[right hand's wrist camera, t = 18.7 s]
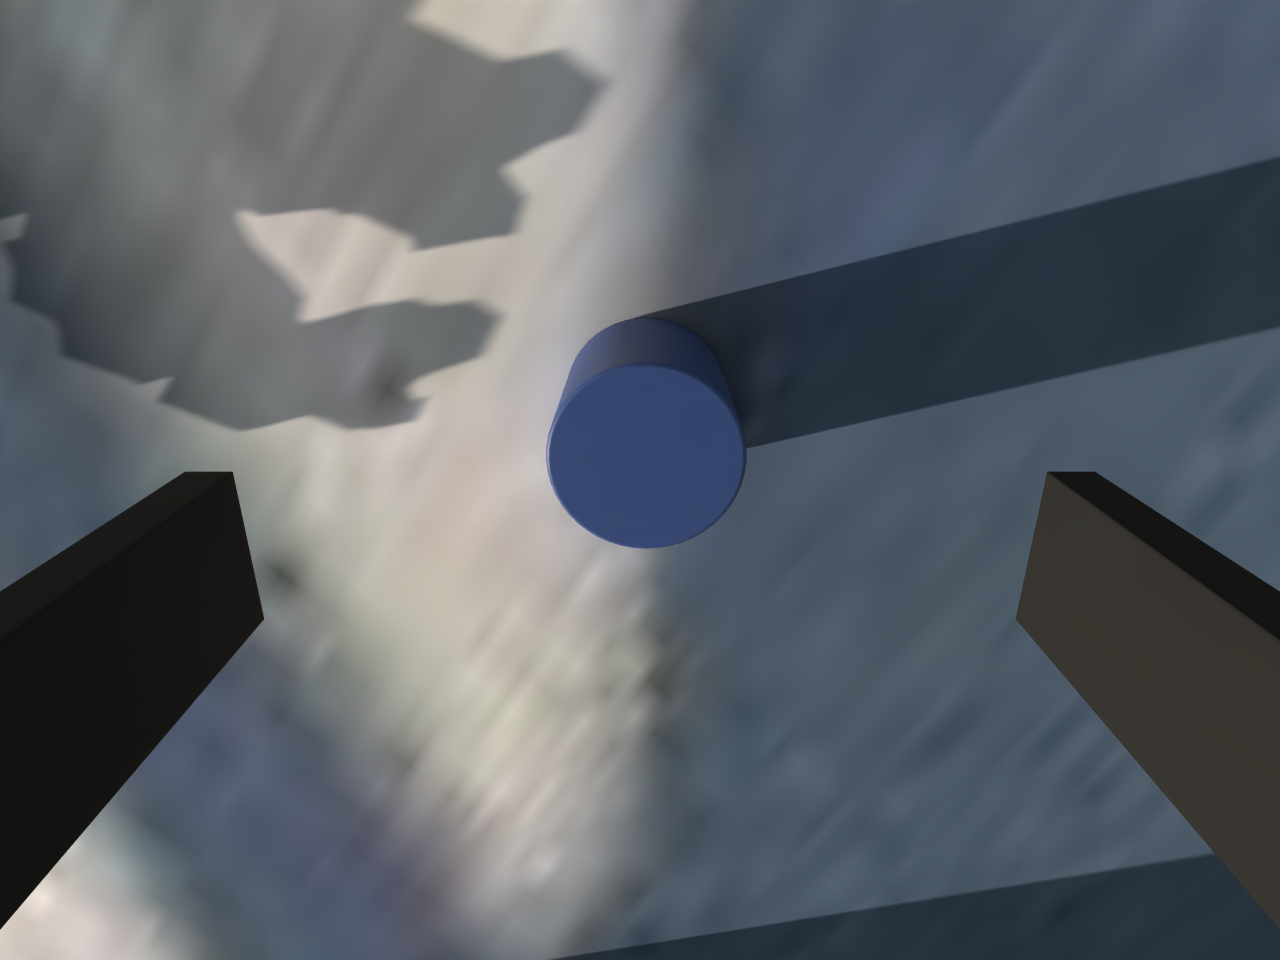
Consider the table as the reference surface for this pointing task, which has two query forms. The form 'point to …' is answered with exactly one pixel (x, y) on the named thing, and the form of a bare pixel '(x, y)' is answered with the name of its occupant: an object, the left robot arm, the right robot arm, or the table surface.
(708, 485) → the blue cylinder
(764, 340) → the table surface
